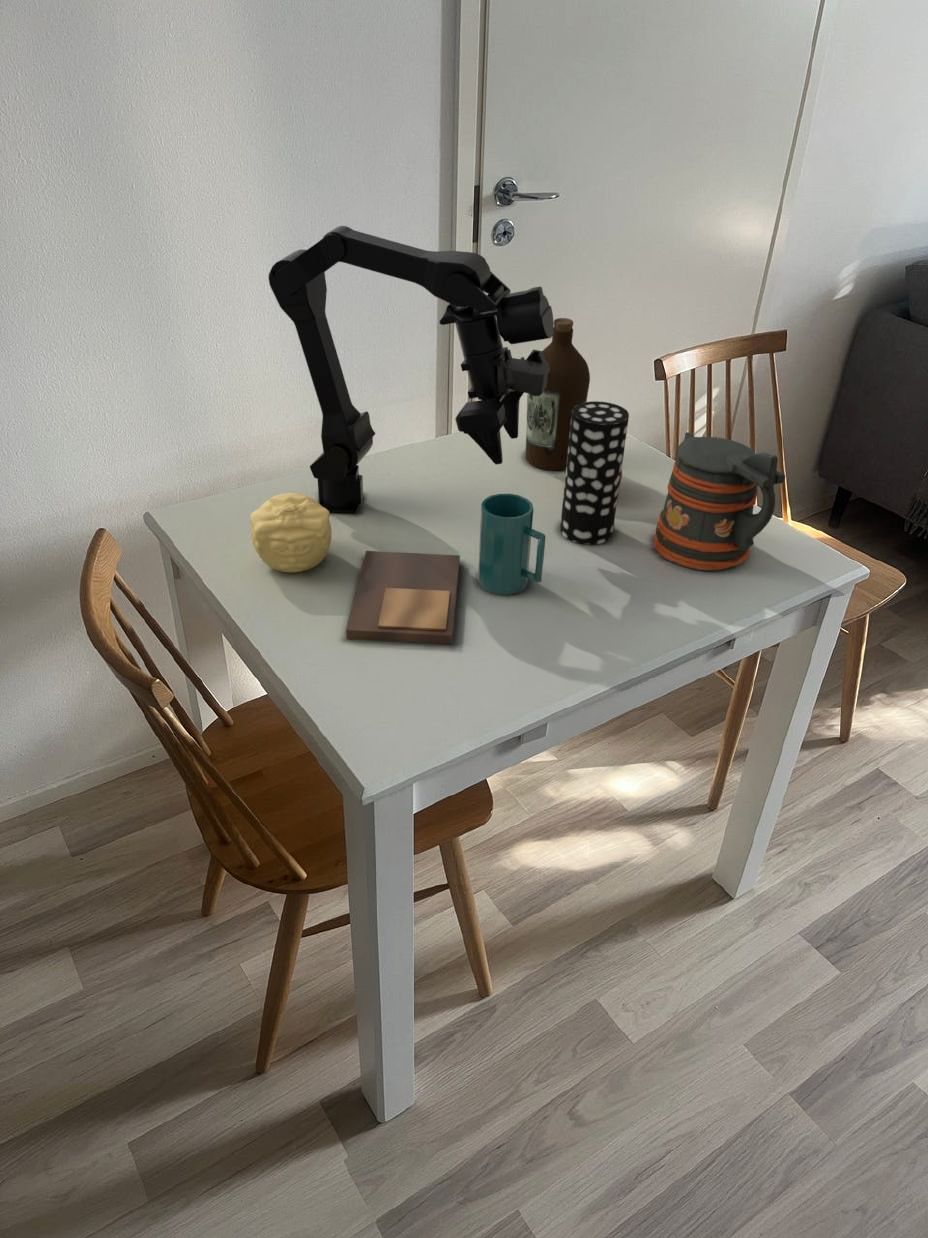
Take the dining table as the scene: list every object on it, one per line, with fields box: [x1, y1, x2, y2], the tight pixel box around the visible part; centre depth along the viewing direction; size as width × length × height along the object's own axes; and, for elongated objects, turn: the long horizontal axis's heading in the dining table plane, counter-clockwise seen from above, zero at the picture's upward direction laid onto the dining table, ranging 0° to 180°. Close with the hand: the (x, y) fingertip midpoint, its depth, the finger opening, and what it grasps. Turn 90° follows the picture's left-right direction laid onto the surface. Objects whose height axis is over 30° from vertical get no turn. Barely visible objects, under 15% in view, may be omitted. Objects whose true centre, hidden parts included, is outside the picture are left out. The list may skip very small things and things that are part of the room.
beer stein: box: [653, 431, 786, 572], centre depth 142 cm, size 19×15×20 cm
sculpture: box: [249, 492, 333, 573], centre depth 140 cm, size 12×12×11 cm
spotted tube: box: [559, 400, 630, 545], centre depth 147 cm, size 8×8×20 cm
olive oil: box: [524, 317, 591, 471], centre depth 166 cm, size 11×11×25 cm
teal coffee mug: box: [477, 493, 546, 596], centre depth 136 cm, size 10×7×12 cm
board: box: [345, 550, 461, 645], centre depth 135 cm, size 14×20×2 cm
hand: (507, 450), depth 144 cm, fingers open, 9 cm apart
